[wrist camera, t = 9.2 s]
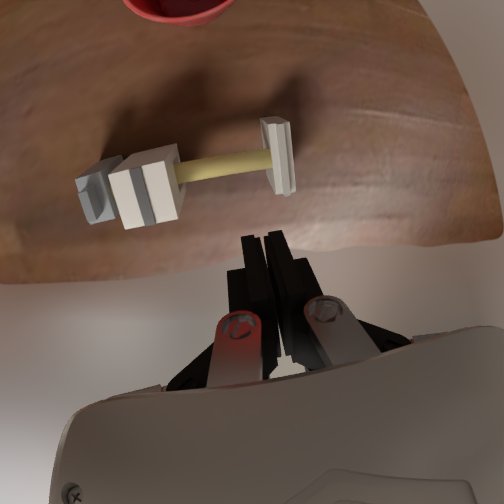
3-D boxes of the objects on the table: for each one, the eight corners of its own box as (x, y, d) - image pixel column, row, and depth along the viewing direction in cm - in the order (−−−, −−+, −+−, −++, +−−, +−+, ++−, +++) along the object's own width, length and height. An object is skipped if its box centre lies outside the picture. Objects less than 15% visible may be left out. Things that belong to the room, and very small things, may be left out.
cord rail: (277, 115, 30) (297, 126, 23) (283, 174, 34) (303, 203, 26) (97, 153, 30) (63, 176, 22) (112, 206, 34) (86, 242, 26)
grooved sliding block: (176, 143, 29) (163, 161, 22) (186, 189, 31) (177, 219, 25) (131, 154, 28) (107, 175, 22) (143, 198, 31) (124, 230, 25)
